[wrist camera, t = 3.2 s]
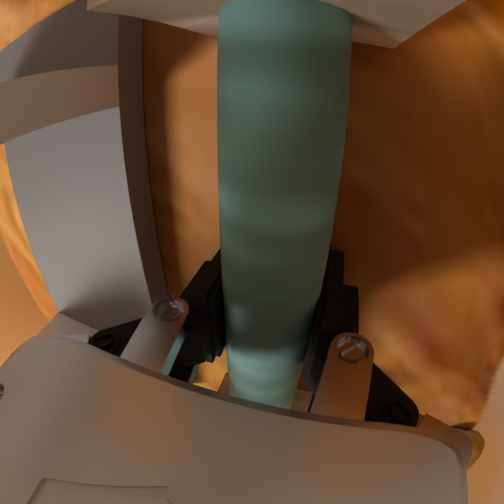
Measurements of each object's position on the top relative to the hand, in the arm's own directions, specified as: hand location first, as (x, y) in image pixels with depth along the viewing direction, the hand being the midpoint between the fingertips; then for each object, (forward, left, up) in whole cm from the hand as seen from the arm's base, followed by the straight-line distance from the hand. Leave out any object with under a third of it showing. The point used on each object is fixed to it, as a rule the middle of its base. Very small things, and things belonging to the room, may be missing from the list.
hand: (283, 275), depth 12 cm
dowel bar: (0, 0, -1) cm, 1 cm away
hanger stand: (0, -11, 0) cm, 11 cm away
